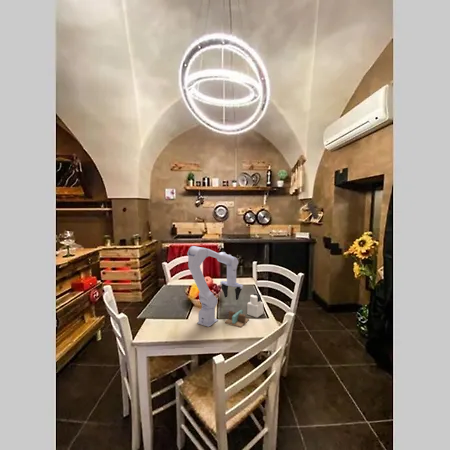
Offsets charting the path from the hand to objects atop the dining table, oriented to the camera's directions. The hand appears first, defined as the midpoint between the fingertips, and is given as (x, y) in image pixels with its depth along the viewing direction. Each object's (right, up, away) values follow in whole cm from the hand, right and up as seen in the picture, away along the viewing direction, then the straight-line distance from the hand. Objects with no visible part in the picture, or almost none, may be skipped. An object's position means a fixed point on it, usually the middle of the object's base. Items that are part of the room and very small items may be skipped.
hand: (231, 298), depth 154 cm
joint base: (+3, -10, -10) cm, 15 cm away
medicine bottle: (+14, -10, -1) cm, 17 cm away
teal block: (+3, -10, -10) cm, 14 cm away
